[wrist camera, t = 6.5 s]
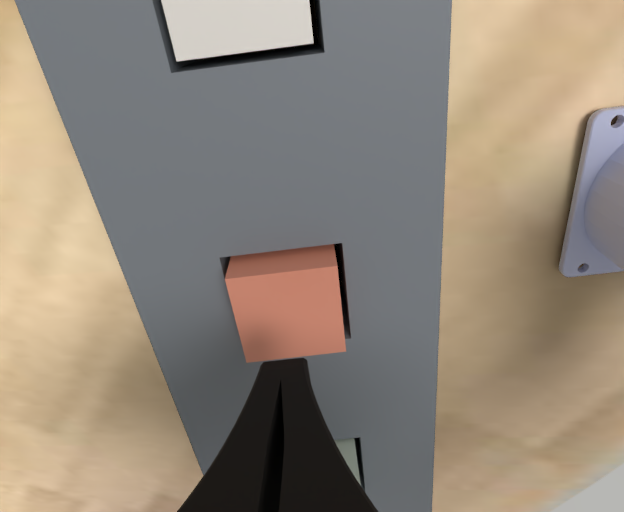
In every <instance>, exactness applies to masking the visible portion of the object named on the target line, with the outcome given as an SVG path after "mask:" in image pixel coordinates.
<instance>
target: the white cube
mask: <svg viewBox="0 0 624 512" xmlns="http://www.w3.org/2000/svg"><path fill="white" fill-rule="evenodd" d="M161 1H162V5H163V9H164V13H165V17H166V21H167V25H168V29H169V33H170V37H171V41H172V45H173V49H174V53H175V57H176V61H185V60H192V59H200V58H207V57H215V56H222V55H230V54H237V53H245V52H252V51H260V50H267V49H275V48H282V47H290V46H298V45H305V44H313V43H314V41H313V32H312V22H311V12H310V3H309V0H161Z"/></svg>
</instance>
